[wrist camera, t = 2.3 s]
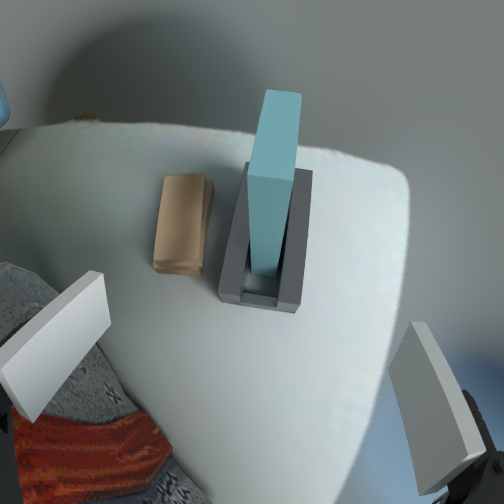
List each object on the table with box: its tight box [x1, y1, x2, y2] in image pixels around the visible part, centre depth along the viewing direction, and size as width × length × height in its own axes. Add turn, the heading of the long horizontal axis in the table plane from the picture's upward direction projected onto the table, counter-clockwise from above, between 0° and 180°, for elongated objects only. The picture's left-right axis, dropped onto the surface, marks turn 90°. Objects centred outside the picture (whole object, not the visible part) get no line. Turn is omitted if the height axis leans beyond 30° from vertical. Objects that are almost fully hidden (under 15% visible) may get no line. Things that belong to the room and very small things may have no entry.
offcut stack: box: [152, 173, 214, 276], centre depth 32 cm, size 6×11×4 cm, turn 176°
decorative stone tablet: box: [0, 262, 213, 504], centre depth 17 cm, size 19×6×30 cm
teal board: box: [247, 90, 302, 278], centre depth 25 cm, size 2×8×17 cm, turn 171°
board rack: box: [217, 162, 313, 313], centre depth 31 cm, size 8×15×4 cm, turn 171°
